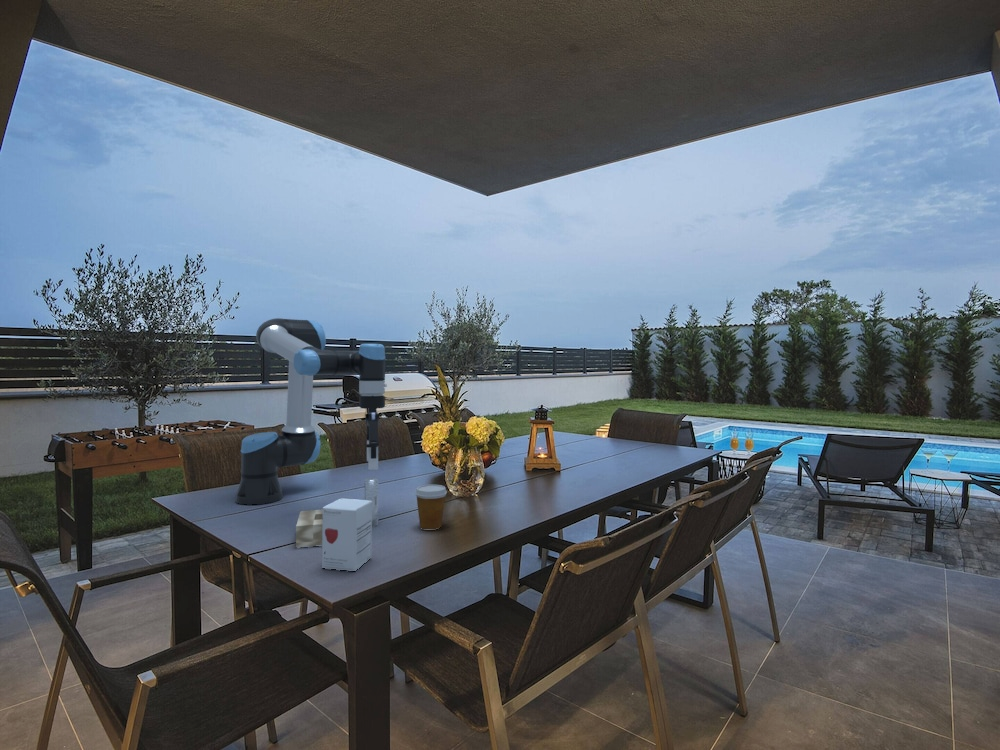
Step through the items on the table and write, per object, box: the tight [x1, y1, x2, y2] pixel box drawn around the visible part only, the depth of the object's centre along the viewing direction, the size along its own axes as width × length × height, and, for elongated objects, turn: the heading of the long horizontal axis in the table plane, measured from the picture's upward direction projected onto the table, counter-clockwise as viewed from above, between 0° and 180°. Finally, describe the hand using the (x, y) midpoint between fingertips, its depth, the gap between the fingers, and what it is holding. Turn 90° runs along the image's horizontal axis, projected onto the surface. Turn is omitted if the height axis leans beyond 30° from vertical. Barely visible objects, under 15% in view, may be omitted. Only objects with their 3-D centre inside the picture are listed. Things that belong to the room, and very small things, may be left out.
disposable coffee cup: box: [414, 484, 448, 530], centre depth 152 cm, size 10×10×12 cm
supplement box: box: [321, 497, 373, 572], centre depth 124 cm, size 9×9×15 cm
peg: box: [364, 477, 379, 527], centre depth 154 cm, size 4×4×14 cm
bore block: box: [295, 509, 323, 548], centre depth 143 cm, size 14×14×6 cm
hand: (372, 465), depth 154 cm, fingers open, 13 cm apart
